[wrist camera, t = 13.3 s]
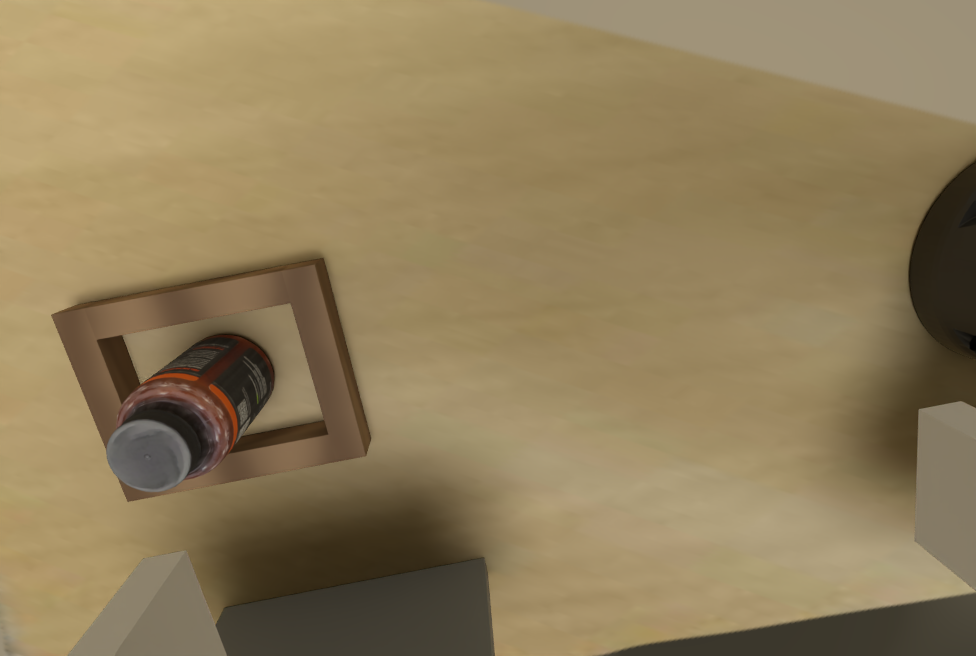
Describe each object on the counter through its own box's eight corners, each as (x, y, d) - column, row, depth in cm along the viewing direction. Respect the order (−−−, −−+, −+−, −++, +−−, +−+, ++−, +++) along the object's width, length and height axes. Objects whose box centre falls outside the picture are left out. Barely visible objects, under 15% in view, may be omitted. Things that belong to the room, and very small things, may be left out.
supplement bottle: (166, 362, 39) (53, 440, 28) (238, 314, 38) (152, 376, 27) (225, 430, 40) (140, 530, 29) (295, 386, 40) (235, 471, 29)
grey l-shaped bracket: (465, 472, 42) (474, 693, 25) (488, 575, 45) (510, 841, 27) (193, 524, 42) (7, 783, 24) (230, 624, 44) (86, 924, 27)
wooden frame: (323, 258, 37) (314, 264, 35) (371, 438, 41) (365, 456, 38) (77, 304, 37) (51, 314, 35) (146, 481, 41) (127, 501, 38)
